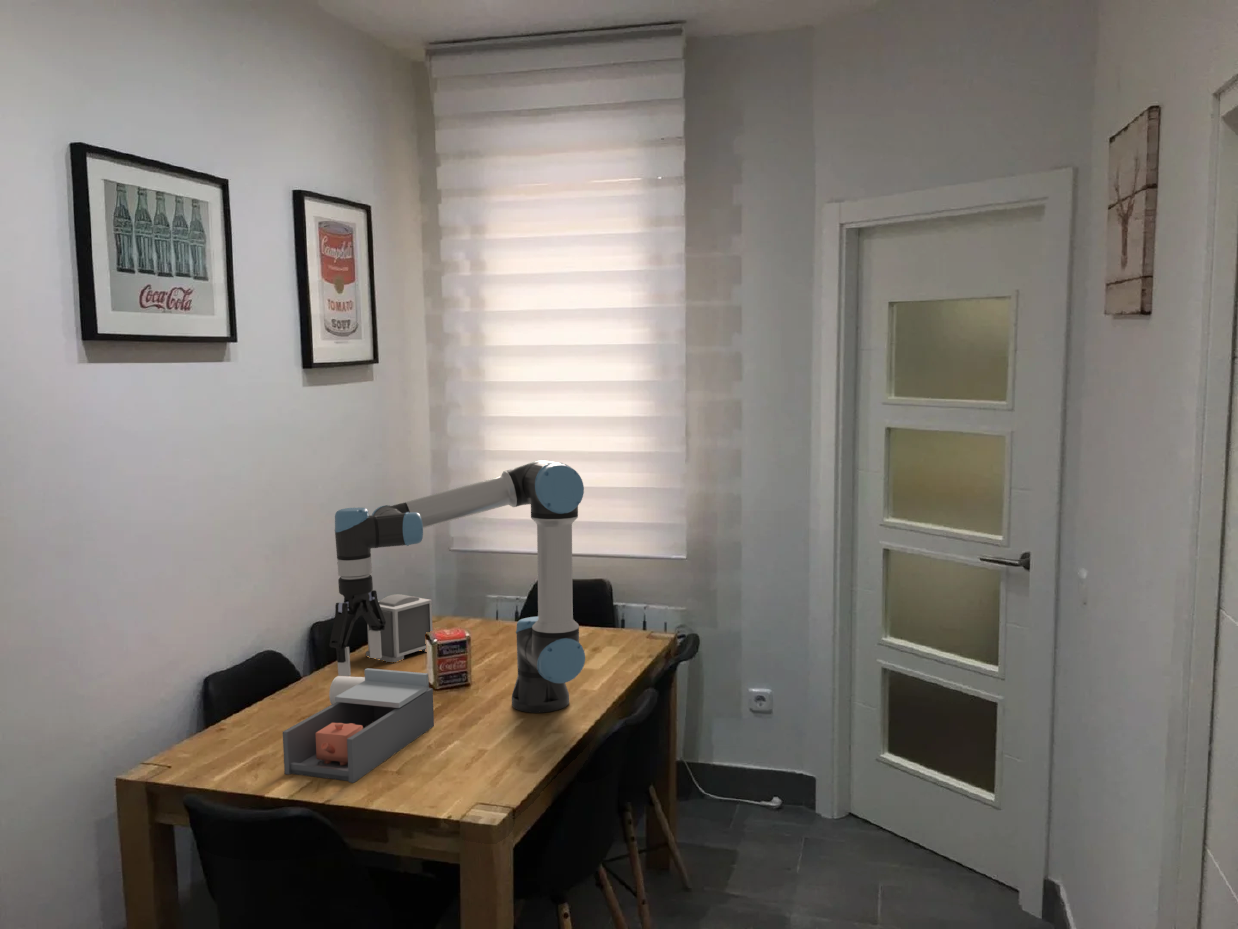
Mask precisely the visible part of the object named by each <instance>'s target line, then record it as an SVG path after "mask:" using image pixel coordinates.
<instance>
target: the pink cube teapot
mask: <svg viewBox="0 0 1238 929" xmlns="http://www.w3.org/2000/svg"><path fill="white" fill-rule="evenodd" d="M362 729H364V728H363V726H362V725H355V724H352V723H349V724H343V723H331V724H329V725H328V726H326V727H324V728H323V729H321V730H320V731H318V732H316V733H315V735H316V757H317V759H319V760H325V761H324V764H329V763H331V762H332V761H338V762H340V765H347V764H348V763H347V762H348V752H347V739H348V738H349V737H351V736H353V735H354V734H356V733H357V732H359V731H361V730H362Z"/></svg>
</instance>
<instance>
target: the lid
mask: <svg viewBox="0 0 1238 929" xmlns="http://www.w3.org/2000/svg"><path fill="white" fill-rule="evenodd" d="M363 670H364V677H365V681H363V682H361V683H360V684H358V685H356V686H354V687H352V688H350V689H348V690H347V691H345V692H343V693H341V694H339V695H337V696H336V697H335V702H343V703H353V704H363V705H373V706H383V707H393V708H400V707H402V706H403V705H405V704H407V703H408V702H410V701H411V700H413V699H414V698H416V697H418V696H419V695H421V694H422V693H424V692H426V691H427V690H429V688H430V687H429V686H430V685H429V684H430V683H429V682H430V681H429V679H430V678H429V673H426V672H425V673H424V672H418V671H417V672H416V671H415V672H414V671H404V670H403V671H402V670H392V669H391V670H390V669H381V668H367V667H366V668H365V669H363Z"/></svg>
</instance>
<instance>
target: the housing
mask: <svg viewBox="0 0 1238 929" xmlns="http://www.w3.org/2000/svg"><path fill="white" fill-rule="evenodd" d="M434 711H435V710H434V688H431V687H429V690H427V691H426V692H424V693H422V694H421V695H419V696H418V697H416V698H414V699H413V700H411V701H410V702H408V703H407V704H405V705H403V706H402V707H400V708H393V707H383V706H373V705H363V704H353V703H343V702H336V703H334V704H330V705H328V706H326V707H325V708H323V709H320V710H319V711H317V712H316V713H314V714H312V715H310V716H309V717H307V718H305V719H303V720H301V721H299V722H297V723H296V724H294V725H293V726H290V727H289V728H287V729H285V730H283V731H282V747H283V748H282V750H283V765H284V766H283V768H284V771H283V772H284V774H285V775H298V776H306V777H314V778H323V779H328V780H329V779H331V780H338V781H346V782H348V783H352V784H353V783H356V782H357V781H358V780H360V779H362V778H363V777H364V776H366V775H367V774H369V773H370V772H371V771H373V770H374V769H375V768H377V767H378V766H380V765H381V764H382V763H384V762H386V760H388V759H389V758H391V757H392V756H394V755H395V754H397V753H398V752H399V751H401V750H402V749H404V748H406V747H407V746H408V745H409V744H410V743H412V742H414V741H415V740H416V739H417V738H420V737H421V735H423V734H425V733H426V732H428V731H429V730H430V729H432V728H434V726H435V718H434V717H435V715H434ZM331 723H343V724H349V723H352V724H355V725H362V726H363V729H362V730H361V731H359V732H357V733H356V734H354V735H353V736H351V737H349V738H348V739H347V752H348V762H347V763H348V764H347V765H340V762H338V761H332V762H331V763H329V764H324V761H325V760H319V759H317V757H316V735H315V733H316V732H318V731H320V730H321V729H323V728H324V727H326V726H328V725H329V724H331Z"/></svg>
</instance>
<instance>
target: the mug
mask: <svg viewBox="0 0 1238 929" xmlns="http://www.w3.org/2000/svg"><path fill="white" fill-rule="evenodd" d="M363 681H365V676H338V675H337V676H335V677H334V679H333V680H332V681H331V684H330V687H329V696H328V697H329V702H330V705H332V704H334V703H336V702H335V697H336V696H337V695H339V694H341V693H343V692H345V691H347V690H348V689H350V688H352V687H354V686H356V685H358V684H360V683H361V682H363Z"/></svg>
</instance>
